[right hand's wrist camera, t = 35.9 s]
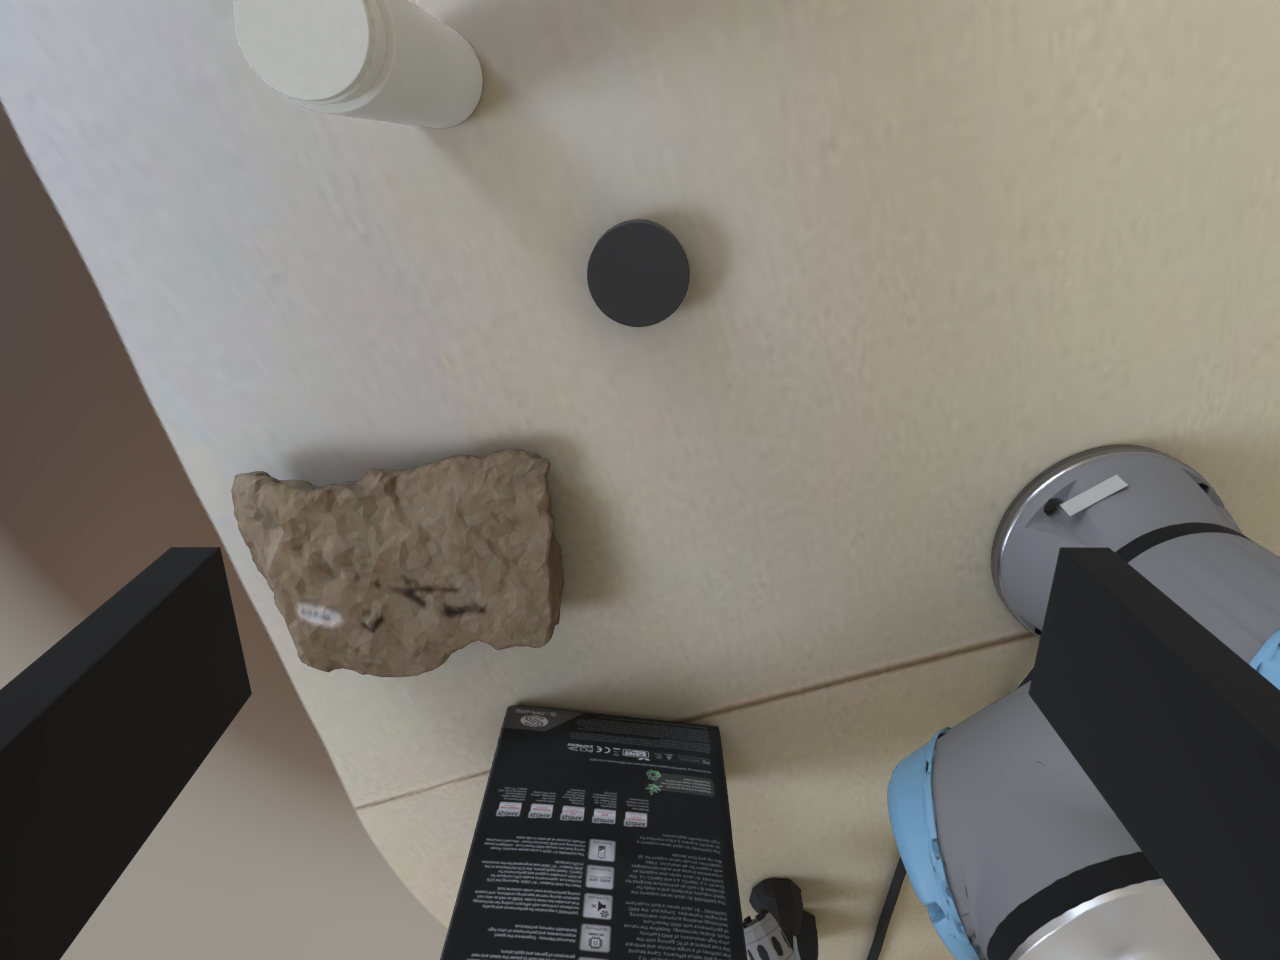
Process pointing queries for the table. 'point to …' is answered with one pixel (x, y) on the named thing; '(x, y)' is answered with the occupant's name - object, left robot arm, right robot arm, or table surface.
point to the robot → (780, 924)
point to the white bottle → (362, 59)
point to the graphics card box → (600, 845)
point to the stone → (408, 560)
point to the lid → (638, 273)
